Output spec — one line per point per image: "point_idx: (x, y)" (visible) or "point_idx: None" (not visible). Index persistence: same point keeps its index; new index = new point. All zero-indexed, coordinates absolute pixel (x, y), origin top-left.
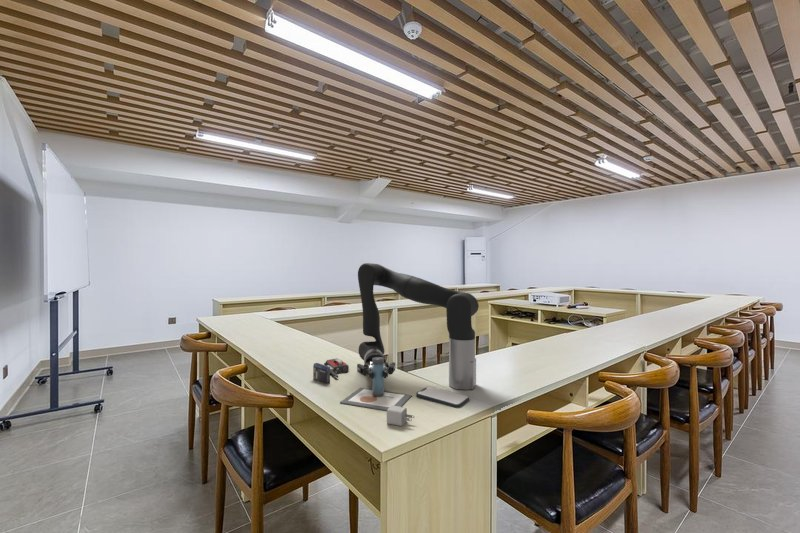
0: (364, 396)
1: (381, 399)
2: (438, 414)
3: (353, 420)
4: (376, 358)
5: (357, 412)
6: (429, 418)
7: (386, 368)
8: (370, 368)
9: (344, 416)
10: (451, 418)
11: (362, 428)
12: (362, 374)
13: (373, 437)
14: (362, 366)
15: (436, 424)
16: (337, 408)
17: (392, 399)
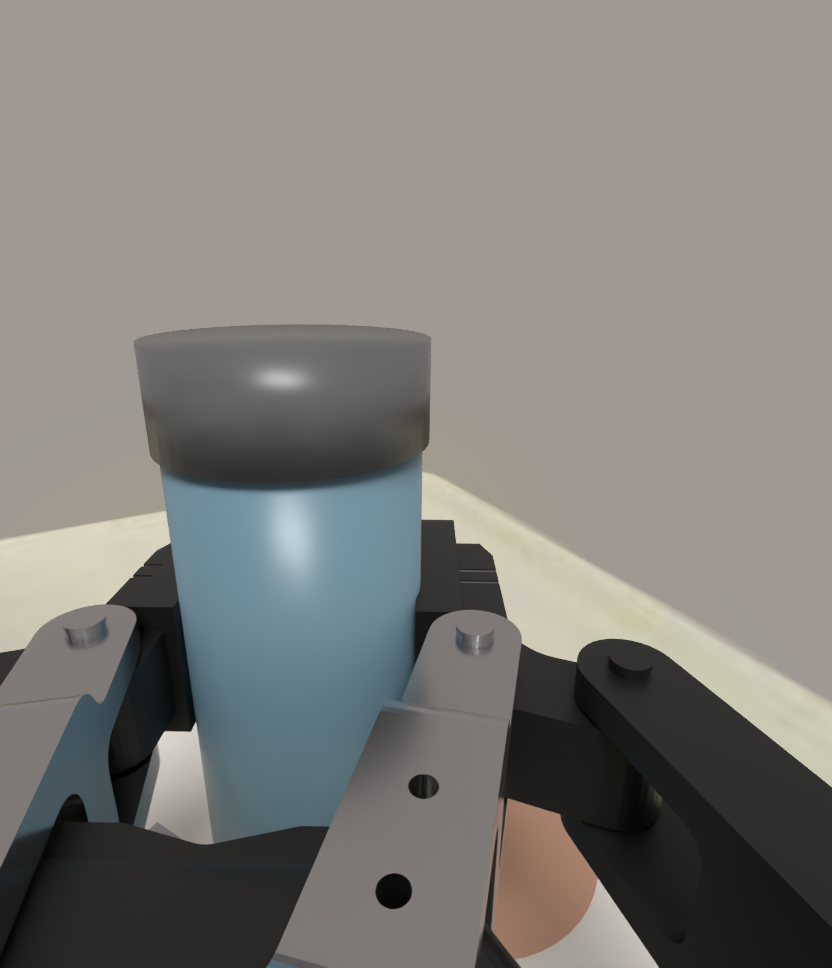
0: (544, 930)
1: None
2: (25, 583)
3: (564, 587)
4: (326, 337)
5: (560, 656)
6: (118, 561)
7: (83, 615)
8: (464, 624)
9: (642, 625)
10: (6, 551)
11: (501, 538)
12: (663, 814)
13: (450, 501)
14: (761, 796)
15: (134, 528)
16: (775, 733)
17: (194, 781)
